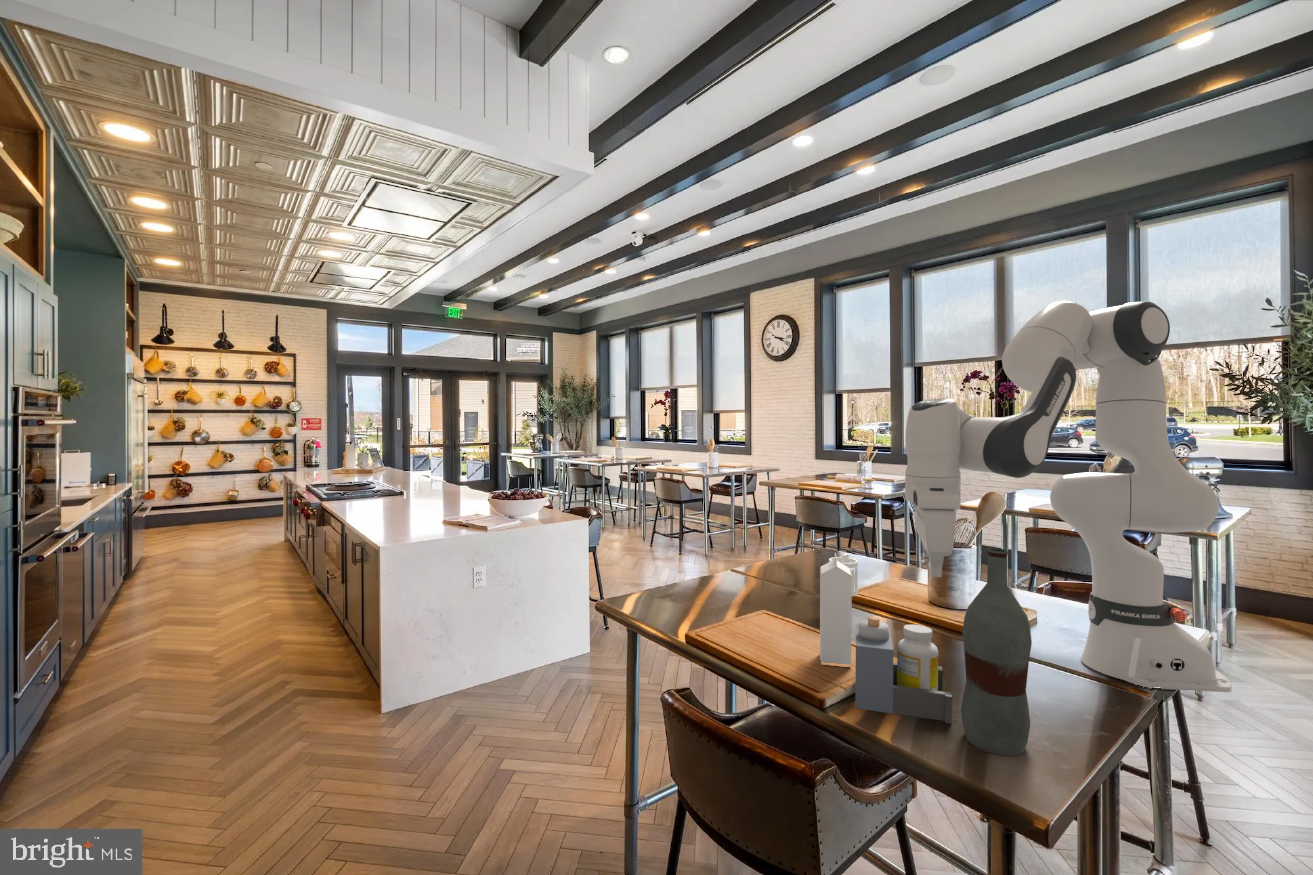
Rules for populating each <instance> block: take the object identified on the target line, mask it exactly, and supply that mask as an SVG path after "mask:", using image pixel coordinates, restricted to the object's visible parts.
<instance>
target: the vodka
mask: <svg viewBox="0 0 1313 875" xmlns="http://www.w3.org/2000/svg"><path fill="white" fill-rule="evenodd" d="M1008 554H1009V551H1008V550H1006V549H1003V548H996V547H995V548H994V547H992V548H988V549H987V571H986V572H987V573H986V574H987V575H986V576H987V578H986V584H985V585H984V586H983V587H982V589H981V590H980V591H979V593H978V594H977V595H976V596H975V597H974V599H973V600H972V601H971V602H970V604H969V605H968V606H967V609H966V611H965V614H964V618H963V619H964V620H963V624H962V632H961V635H962V641H963V642H962V643H963V653H964V667H965V668H964V669H965V685H964V689H963V695H962V702H961V708H960V712H961V720H962V721H961V723H962V727H963V732H964V734H965V737H966V740H967V741H968V742H969V743H970V744H971V745H973V746H974V747H976V748H978V749H980V750H981V751H985V752H988V753H991V754H995V755H1000V756H1007V757H1008V756H1019V755H1022V754H1023V753H1024V752H1025V749H1026V747H1027V745H1028V742H1029V735H1030V729H1031V719H1030V718H1031V716H1030V708H1029V702H1028V695H1027V683H1028V673H1029V665H1030V656H1031V650H1032V644H1033V643H1032V633H1031V624H1030V621H1029V618H1028V615H1027V613H1026V611H1025V610H1024V608H1023V607H1022V606H1021V604H1020V602H1019V601H1018V599H1017V598H1016V596H1015V595H1014V592H1012V590H1011V589H1010V587H1009V586H1008Z"/></svg>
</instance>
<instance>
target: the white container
mask: <svg viewBox="0 0 1313 875" xmlns="http://www.w3.org/2000/svg"><path fill="white" fill-rule="evenodd" d="M836 558H837V561H839V562H840V563H842V564H843V565H845V566H847V567H848V568H850V571H851V575H852V597H856V596H857V595H858V594H859V589H858V587H859V586H858V585H859V560H857V559H856V558H852V557H850V553H843V554H841V556H836ZM833 560H835V556H834V557H830V558H828V563H829V562H831V561H833Z"/></svg>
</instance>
